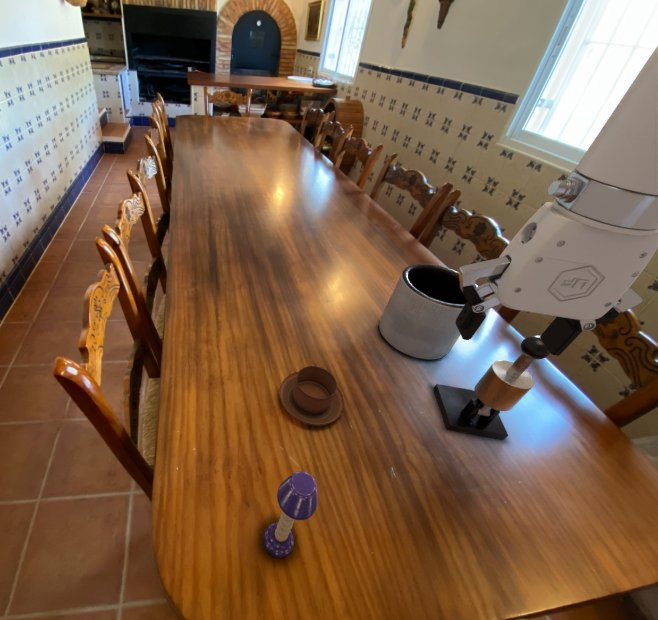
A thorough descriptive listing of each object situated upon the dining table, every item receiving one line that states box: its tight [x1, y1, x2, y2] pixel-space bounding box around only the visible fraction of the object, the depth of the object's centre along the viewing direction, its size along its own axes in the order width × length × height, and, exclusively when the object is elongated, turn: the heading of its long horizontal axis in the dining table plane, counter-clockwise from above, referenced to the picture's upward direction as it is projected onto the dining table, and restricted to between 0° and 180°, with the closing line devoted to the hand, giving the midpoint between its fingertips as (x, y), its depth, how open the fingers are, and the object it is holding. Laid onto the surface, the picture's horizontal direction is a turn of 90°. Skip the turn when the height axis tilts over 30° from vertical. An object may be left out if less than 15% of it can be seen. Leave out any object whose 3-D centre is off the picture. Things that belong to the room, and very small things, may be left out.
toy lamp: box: [262, 470, 318, 559], centre depth 44 cm, size 5×5×17 cm
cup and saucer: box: [279, 362, 345, 427], centre depth 66 cm, size 12×12×6 cm
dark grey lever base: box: [433, 383, 509, 441], centre depth 66 cm, size 10×10×7 cm
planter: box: [378, 263, 484, 360], centre depth 79 cm, size 16×16×16 cm
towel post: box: [473, 335, 551, 416], centre depth 59 cm, size 6×6×19 cm
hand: (504, 339), depth 42 cm, fingers open, 9 cm apart
